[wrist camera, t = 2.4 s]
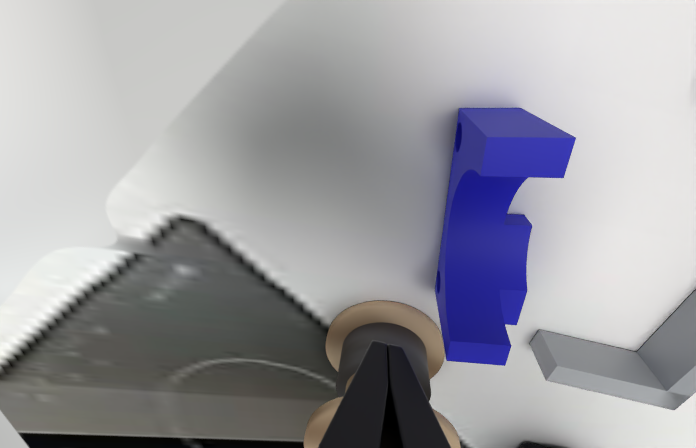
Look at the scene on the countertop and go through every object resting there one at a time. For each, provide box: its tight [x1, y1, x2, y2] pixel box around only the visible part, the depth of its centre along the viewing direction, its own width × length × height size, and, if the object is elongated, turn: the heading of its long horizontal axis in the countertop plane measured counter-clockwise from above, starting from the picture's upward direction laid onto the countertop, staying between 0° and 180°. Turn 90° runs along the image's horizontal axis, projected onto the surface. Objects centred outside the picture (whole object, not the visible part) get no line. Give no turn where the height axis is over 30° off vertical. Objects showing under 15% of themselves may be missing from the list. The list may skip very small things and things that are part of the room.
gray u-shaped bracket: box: [530, 290, 696, 410], centre depth 18 cm, size 19×8×3 cm, turn 169°
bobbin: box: [304, 301, 461, 448], centre depth 23 cm, size 9×9×8 cm
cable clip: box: [435, 108, 576, 366], centre depth 17 cm, size 12×4×6 cm, turn 1°
